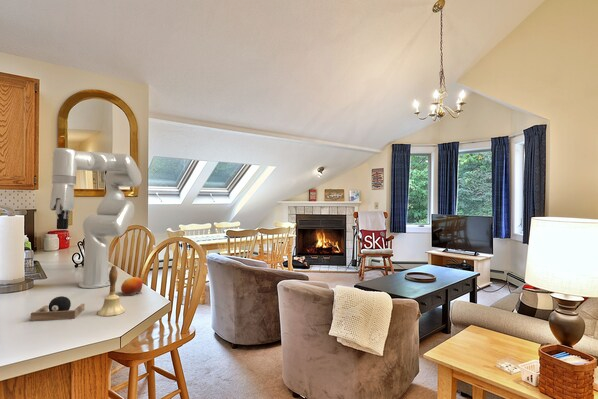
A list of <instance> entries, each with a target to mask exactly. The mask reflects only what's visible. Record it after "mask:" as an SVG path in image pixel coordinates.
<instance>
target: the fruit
mask: <svg viewBox="0 0 598 399" xmlns="http://www.w3.org/2000/svg"><path fill="white" fill-rule="evenodd" d="M142 288H143V280H142V279H141V277H138V276H133V277H132V276H131V277H129V278H127V279H125V280H124V281H123V282H122V284H121V286H120V291H121V292H122V294H124V296H135V295H136V294H138V293H140V294H142V292H141V291H142Z"/></svg>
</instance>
